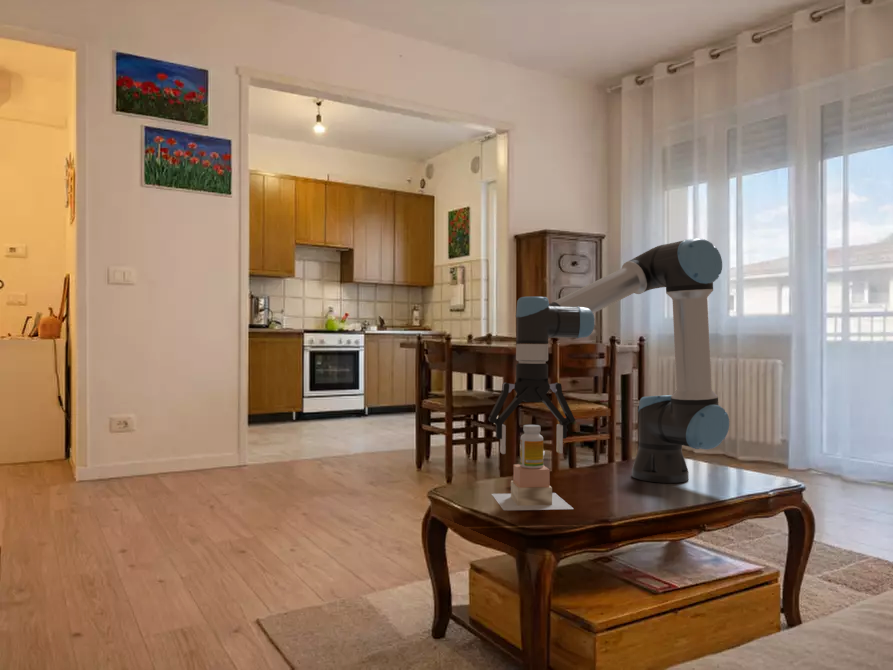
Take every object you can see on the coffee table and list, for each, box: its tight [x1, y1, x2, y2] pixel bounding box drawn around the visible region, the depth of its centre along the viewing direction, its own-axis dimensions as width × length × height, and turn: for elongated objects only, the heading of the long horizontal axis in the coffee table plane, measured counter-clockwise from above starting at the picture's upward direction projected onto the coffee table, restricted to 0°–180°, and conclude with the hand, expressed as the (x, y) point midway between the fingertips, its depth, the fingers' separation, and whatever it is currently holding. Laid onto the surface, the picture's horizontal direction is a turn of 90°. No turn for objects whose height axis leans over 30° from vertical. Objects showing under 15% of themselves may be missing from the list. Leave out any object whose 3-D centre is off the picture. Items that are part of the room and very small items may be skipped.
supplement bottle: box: [519, 424, 544, 469], centre depth 158 cm, size 5×5×10 cm
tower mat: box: [491, 492, 575, 511], centre depth 157 cm, size 16×16×1 cm
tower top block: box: [512, 463, 551, 487], centre depth 157 cm, size 7×7×4 cm
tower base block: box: [510, 480, 553, 506], centre depth 157 cm, size 8×8×4 cm
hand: (531, 452), depth 157 cm, fingers open, 13 cm apart
